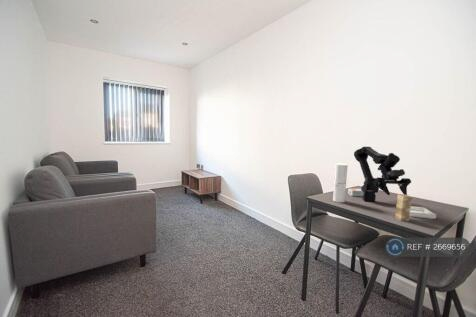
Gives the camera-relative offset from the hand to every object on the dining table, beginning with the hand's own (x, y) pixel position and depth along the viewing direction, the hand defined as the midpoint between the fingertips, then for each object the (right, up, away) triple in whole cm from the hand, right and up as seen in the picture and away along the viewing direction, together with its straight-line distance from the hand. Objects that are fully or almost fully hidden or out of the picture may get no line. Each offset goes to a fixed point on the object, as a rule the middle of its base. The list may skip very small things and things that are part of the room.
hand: (397, 195), depth 126 cm
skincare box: (-6, -5, +42) cm, 42 cm away
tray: (+14, -12, +4) cm, 19 cm away
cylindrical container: (-21, -8, +26) cm, 35 cm away
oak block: (0, -12, -4) cm, 13 cm away
